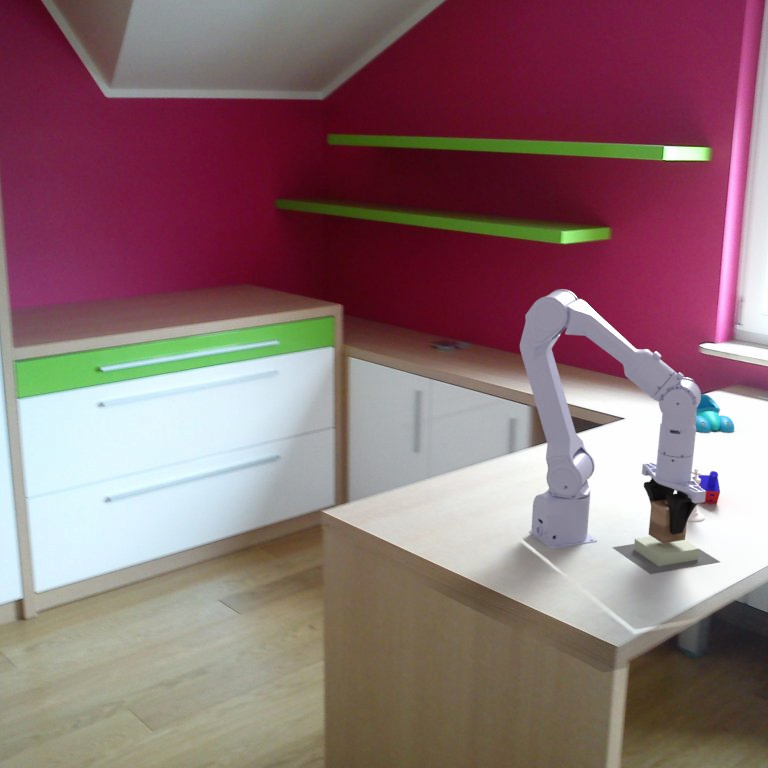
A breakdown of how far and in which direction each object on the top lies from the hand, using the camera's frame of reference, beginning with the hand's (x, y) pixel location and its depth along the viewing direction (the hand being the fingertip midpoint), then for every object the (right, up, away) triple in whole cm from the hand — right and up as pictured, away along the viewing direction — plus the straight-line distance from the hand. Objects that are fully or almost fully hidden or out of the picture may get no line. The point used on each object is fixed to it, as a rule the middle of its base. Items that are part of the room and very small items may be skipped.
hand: (668, 527), depth 168 cm
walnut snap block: (0, -2, 0) cm, 2 cm away
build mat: (0, -5, +1) cm, 5 cm away
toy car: (+32, +14, +79) cm, 86 cm away
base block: (0, -5, +1) cm, 5 cm away
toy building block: (+15, +1, +27) cm, 31 cm away
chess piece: (+9, -1, +18) cm, 20 cm away
